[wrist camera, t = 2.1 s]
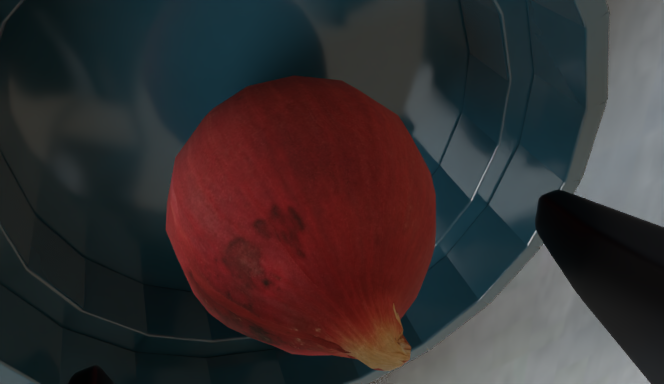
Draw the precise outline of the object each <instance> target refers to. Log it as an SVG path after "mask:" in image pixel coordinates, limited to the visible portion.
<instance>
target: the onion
mask: <svg viewBox="0 0 664 384" xmlns="http://www.w3.org/2000/svg"><path fill="white" fill-rule="evenodd" d="M166 232H167V234H168V237H169V239H170V241H171V244H172V246H173V249H174V251H175V254H176V256H177V258H178V261H179V263H180V265H181V267H182V269H183V271H184V274H185V276H186V278H187V280H188V282H189V284H190V287H191V289H192V291H193V293H194V295H195V296H196V297H197V298H198V300H199V301H200V302H201V304H202V305H203V306H204V307H205V309H206V310H207V311H208V312H209V314H211V315H212V316H213V317H215V318H216V319H218V320H219V321H220V322H222V323H223V324H224V325H226V326H227V327H228V328H231V329H233V330H235V331H237V332H239V333H241V334H244V335H246V336H248V337H250V338H253V339H256V340H259V341H261V342H264V343H267V344H270V345H272V346H275V347H277V348H280V349H282V350H284V351H286V352H288V353H291V354H298V355H309V356H313V355H334V356H340V357H347V358H353V359H358V360H360V361H361V362H363V363H364V364H365V365H367V366H368V367H370V368H372V369H374V370H382V371H391V370H393V369H396V368H398V367H400V366H402V365H403V364H404V363H406V362H407V361H408V360H410V353H411V346H410V345H409V343H408V342H407V340H406V339H405V337H404V336H403V328H402V324H401V321H400V319H401V318H402V317H403V315H404V314H405V313H406V311H407V310H408V309H409V307H410V306H411V305H412V303H413V302H414V300H415V299H416V298H417V295H418V293H419V291H420V288H421V286H422V283H423V281H424V278H425V275H426V273H427V270H428V267H429V265H430V262H431V259H432V255H433V251H434V248H435V237H436V194H435V189H434V185H433V181H432V177H431V173H430V171H429V169H428V167H427V165H426V163H425V161H424V159H423V157H422V156H421V154H420V152H419V150H418V148H417V146H416V144H415V143H414V141H413V139H412V137H411V135H410V134H409V132H408V130H407V129H406V127H405V125H404V124H403V122H402V121H401V119H400V117H399V116H398V115H397V114H395V113H394V112H392V111H390V110H389V109H387V108H386V107H384V106H383V105H381V104H380V103H378V102H376V101H375V100H373V99H372V98H370V97H369V96H367V95H366V94H364V93H362V92H361V91H359V90H358V89H356V88H354V87H352V86H351V85H349V84H347V83H345V82H344V81H342V80H333V79H323V78H313V77H304V76H290V77H285V78H281V79H276V80H272V81H268V82H263V83H259V84H254V85H250V86H247V87H245V88H244V89H242V90H241V91H239V92H238V93H236V94H235V95H233V96H231V97H230V98H228V99H227V100H225V101H224V102H222V103H221V104H219V105H217V106H216V107H214V108H213V109H212V110H211V111H210V112H209V113H208V114H207V115H206V116H205V117H204V118H203V120H202V121H201V123H200V124H199V125H198V127H197V128H196V130H195V131H194V132H193V134H192V135H191V137H190V138H189V139H188V141H187V142H186V144H185V145H184V146H183V148H182V149H181V150H180V152H179V153H178V155H177V156H176V157H175V162H174V168H173V173H172V178H171V184H170V189H169V194H168V200H167V213H166Z"/></svg>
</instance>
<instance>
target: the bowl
mask: <svg viewBox="0 0 664 384" xmlns="http://www.w3.org/2000/svg"><path fill="white" fill-rule="evenodd" d="M609 15H610V13H609V8H608V5H607V2H606V0H0V384H68V383H69V381H70V379H71V377H72V376H73V375H74V374H75V373H76V372H78V371H81V370H83V369H86V368H88V367H91V366H94V365H97V366H100V367H101V368H102V369H103V371H104V372H105V373H106V374H107V375H108V377H109V378H110V379H111V380H112V381H113V383H114V384H370V383H371V382H373V381H375V380H377V379H379V378H381V377H382V376H384V375H386V374H388V373H390V372H391V371H393V370H395V369H393V370H391V371H382V370H374V369H372V368H370V367H368V366H367V365H365V364H364V363H363V362H361V361H360V360H358V359H353V358H347V357H340V356H334V355H313V356H309V355H298V354H291V353H288V352H286V351H284V350H282V349H280V348H277V347H275V346H272V345H270V344H267V343H264V342H261V341H259V340H256V339H253V338H250V337H248V336H246V335H244V334H241V333H239V332H237V331H235V330H233V329H231V328H228V327H227V326H226V325H224V324H223V323H222V322H220V321H219V320H218V319H216V318H215V317H213V316H212V315H211V314H209V312H208V311H207V310H206V309H205V307H204V306H203V305H202V304H201V302H200V301H199V300H198V298H197V297H196V296H195V295H194V293H193V291H192V289H191V287H190V284H189V282H188V280H187V278H186V276H185V274H184V271H183V269H182V267H181V265H180V263H179V261H178V258H177V256H176V254H175V251H174V249H173V246H172V244H171V241H170V239H169V237H168V234H167V232H166V213H167V200H168V194H169V189H170V184H171V178H172V173H173V168H174V162H175V157H176V156H177V155H178V153H179V152H180V150H181V149H182V148H183V146H184V145H185V144H186V142H187V141H188V139H189V138H190V137H191V135H192V134H193V132H194V131H195V130H196V128H197V127H198V125H199V124H200V123H201V121H202V120H203V118H204V117H205V116H206V115H207V114H208V113H209V112H210V111H211V110H212V109H213V108H214V107H216V106H217V105H219V104H221V103H222V102H224V101H225V100H227V99H228V98H230V97H231V96H233V95H235V94H236V93H238V92H239V91H241V90H242V89H244V88H245V87H247V86H250V85H254V84H259V83H263V82H268V81H272V80H276V79H281V78H285V77H290V76H304V77H313V78H323V79H333V80H342V81H344V82H345V83H347V84H349V85H351V86H352V87H354V88H356V89H358V90H359V91H361V92H362V93H364V94H366V95H367V96H369V97H370V98H372V99H373V100H375V101H376V102H378V103H380V104H381V105H383V106H384V107H386V108H387V109H389V110H390V111H392V112H394V113H395V114H397V115H398V116H399V117H400V119H401V121H402V122H403V124H404V125H405V127H406V129H407V130H408V132H409V134H410V135H411V137H412V139H413V141H414V143H415V144H416V146H417V148H418V150H419V152H420V154H421V156H422V157H423V159H424V161H425V163H426V165H427V167H428V169H429V171H430V173H431V177H432V181H433V185H434V189H435V194H436V237H435V248H434V251H433V255H432V259H431V262H430V265H429V267H428V270H427V273H426V275H425V278H424V281H423V283H422V286H421V288H420V291H419V293H418V295H417V298H416V299H415V300H414V302H413V303H412V305H411V306H410V307H409V309H408V310H407V311H406V313H405V314H404V315H403V317H402V318H401V319H400V321H401V324H402V328H403V336H404V337H405V339H406V340H407V342H408V343H409V345H410V346H411V353H410V360H408V361H407V362H406V363H408V362H410V361H412V360H413V359H415V358H417V357H419V356H421V355H422V354H424V353H426V352H428V350H431V349H432V348H434V347H435V346H436V345H437V344H439V343H440V342H441V341H443V340H444V339H445V338H446V337H448V336H449V335H450V334H452V333H453V332H454V331H455V330H457V329H458V328H459V327H461V326H462V325H463V324H464V323H466V322H467V321H468V320H470V319H471V318H472V317H473V316H475V315H476V314H477V313H479V312H480V311H481V310H482V309H484V308H485V307H486V306H487V305H488V304H490V303H491V302H492V301H493V300H494V299H495V298H496V297H497V295H498V294H499V293H500V292H501V291H502V290H503V289H504V288H505V287H506V286H507V284H508V283H509V282H510V281H511V280H512V279H513V278H514V277H515V276H516V275H517V274H518V272H519V271H520V270H521V269H522V268H523V267H524V266H525V265H526V264H527V263H528V261H529V260H530V259H531V258H532V257H533V256H534V255H535V254H536V253H537V252H538V250H539V249H540V247H541V246H542V245H543V241H542V240H541V238H540V237H539V235H538V233H537V231H536V228H535V219H536V212H537V206H538V200H539V198H540V196H542V195H544V194H546V193H549V192H551V191H554V190H563V191H566V192H569V193H571V194H573V193H574V192H575V190H576V188H577V187H578V185H579V183H580V181H581V179H582V178H583V175H584V171H585V168H586V165H587V162H588V159H589V156H590V153H591V150H592V147H593V144H594V140H595V137H596V134H597V131H598V128H599V125H600V122H601V119H602V116H603V112H604V109H605V106H606V103H607V99H608V61H609ZM406 363H404V364H406ZM404 364H403V365H404ZM400 367H401V366H400ZM398 368H399V367H398ZM396 369H397V368H396Z"/></svg>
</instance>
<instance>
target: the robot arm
mask: <svg viewBox="0 0 664 384" xmlns="http://www.w3.org/2000/svg"><path fill="white" fill-rule="evenodd" d="M535 228H536V231H537V233H538V235H539V237H540V238H541V240H542V241H543V243H544V244H545V246H546V247H547V249H548V250H549V252H550V253H551V255H552V256H553V258H554V259H555V261H556V263H557V264H558V266H559V267H560V269H561V270H562V272H563V273H564V275H565V276H566V278H567V279H568V281H569V282H570V284H571V285H572V287H573V288H574V290H575V291H576V292H577V294H578V295H579V296H580V298H581V299H582V300H583V301H584V303H585V304H586V305H587V306H588V308H589V309H590V310H591V311H592V312H593V314H594V315H595V316H596V317H597V318H598V320H599V321H600V322H601V323H602V325H603V326H604V327H605V328H606V329H607V331H608V332H609V333H610V334H611V336H612V337H613V338H614V339H615V340H616V342H617V343H618V344H619V345H620V346H621V348H622V349H623V350H624V351H625V353H626V354H627V355H628V356H629V357H630V359H631V360H632V361H633V362H634V363H635V365H636V366H637V367H638V368H639V370H640V371H641V372H642V373H643V374H644V376H645V377H646V378H647V379H648V381H649V382H650V383H651V384H664V227H661V226H658V225H656V224H653V223H650V222H647V221H645V220H642V219H639V218H637V217H634V216H631V215H628V214H626V213H623V212H620V211H618V210H615V209H612V208H609V207H607V206H604V205H601V204H598V203H596V202H593V201H590V200H588V199H585V198H582V197H579V196H577V195H574V194H571V193H569V192H566V191H563V190H554V191H551V192H549V193H546V194H544V195H542V196H540V198H539V200H538V206H537V212H536V219H535ZM68 384H114V383H113V381H112V380H111V379H110V378H109V377H108V375H107V374H106V373H105V372H104V371H103V369H102V368H101V367H100V366H97V365H94V366H91V367H88V368H86V369H83V370H81V371H78V372H76V373H75V374H74V375H73V376H72V377H71V379H70V381H69V383H68Z"/></svg>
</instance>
